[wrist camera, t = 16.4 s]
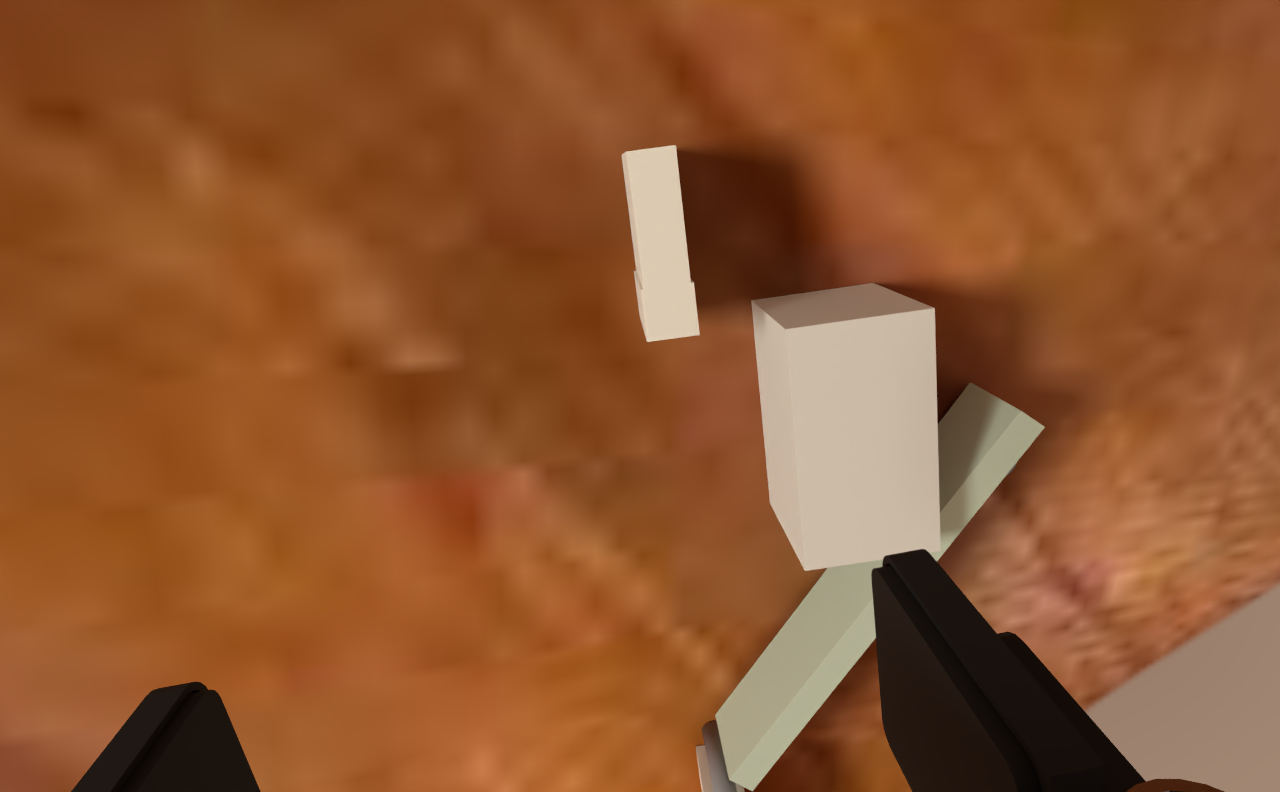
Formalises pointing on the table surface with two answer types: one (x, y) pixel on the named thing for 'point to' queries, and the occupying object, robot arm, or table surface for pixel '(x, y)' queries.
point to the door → (854, 602)
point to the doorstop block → (850, 422)
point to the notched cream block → (662, 269)
